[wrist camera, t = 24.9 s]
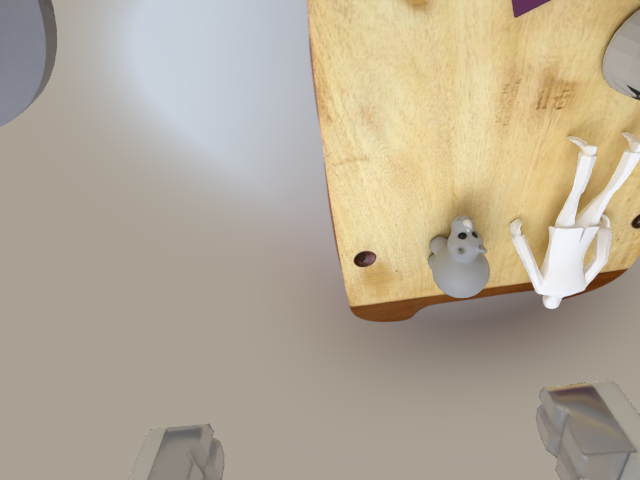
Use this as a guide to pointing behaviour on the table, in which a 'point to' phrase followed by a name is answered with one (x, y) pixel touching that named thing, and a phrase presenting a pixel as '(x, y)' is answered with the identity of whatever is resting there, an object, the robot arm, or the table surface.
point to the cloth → (525, 6)
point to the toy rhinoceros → (460, 260)
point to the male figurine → (576, 230)
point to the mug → (624, 58)
